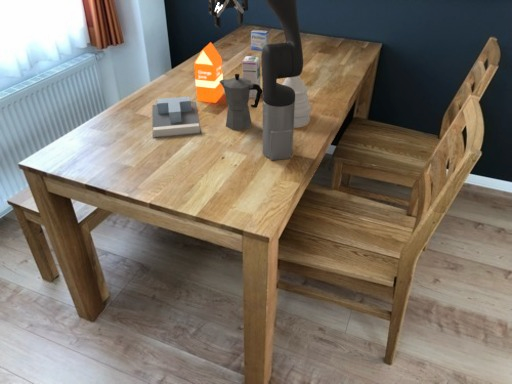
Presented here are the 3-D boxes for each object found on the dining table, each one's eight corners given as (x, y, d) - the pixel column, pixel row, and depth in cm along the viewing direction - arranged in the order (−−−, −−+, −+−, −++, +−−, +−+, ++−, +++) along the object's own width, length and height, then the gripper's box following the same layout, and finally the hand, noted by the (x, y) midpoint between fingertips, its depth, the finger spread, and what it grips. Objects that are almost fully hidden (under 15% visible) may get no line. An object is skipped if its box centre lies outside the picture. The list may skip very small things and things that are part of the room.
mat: (201, 134, 145) (201, 133, 145) (152, 139, 142) (152, 138, 142) (195, 102, 166) (195, 101, 165) (152, 105, 163) (152, 105, 163)
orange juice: (223, 94, 171) (221, 42, 160) (216, 103, 165) (212, 50, 153) (205, 92, 173) (201, 41, 161) (196, 101, 166) (192, 48, 155)
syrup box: (257, 98, 168) (257, 61, 159) (242, 97, 169) (241, 60, 160) (260, 92, 172) (260, 56, 164) (245, 91, 173) (245, 55, 165)
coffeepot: (215, 126, 149) (211, 75, 139) (227, 115, 156) (225, 66, 146) (256, 135, 144) (256, 83, 134) (267, 123, 151) (268, 73, 140)
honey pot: (279, 130, 147) (281, 78, 137) (268, 113, 157) (269, 64, 147) (315, 125, 150) (319, 74, 139) (302, 109, 160) (305, 60, 150)
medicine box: (250, 49, 215) (250, 31, 210) (253, 47, 218) (253, 29, 213) (266, 51, 213) (266, 33, 208) (268, 48, 216) (268, 30, 211)
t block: (158, 109, 160) (156, 99, 158) (190, 106, 162) (189, 96, 160) (158, 124, 151) (156, 113, 148) (193, 120, 152) (192, 110, 150)
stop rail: (199, 132, 146) (199, 125, 144) (154, 136, 143) (153, 130, 142) (199, 129, 147) (198, 123, 146) (154, 134, 145) (153, 127, 143)
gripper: (213, -21, 139) (216, 31, 149) (251, -26, 145) (252, 25, 155) (202, -25, 144) (206, 26, 154) (240, -29, 150) (241, 20, 160)
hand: (229, 25), depth 154 cm, fingers open, 8 cm apart
